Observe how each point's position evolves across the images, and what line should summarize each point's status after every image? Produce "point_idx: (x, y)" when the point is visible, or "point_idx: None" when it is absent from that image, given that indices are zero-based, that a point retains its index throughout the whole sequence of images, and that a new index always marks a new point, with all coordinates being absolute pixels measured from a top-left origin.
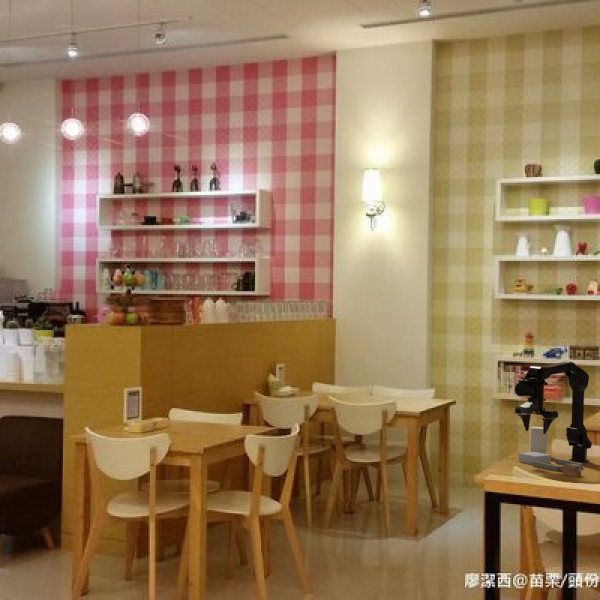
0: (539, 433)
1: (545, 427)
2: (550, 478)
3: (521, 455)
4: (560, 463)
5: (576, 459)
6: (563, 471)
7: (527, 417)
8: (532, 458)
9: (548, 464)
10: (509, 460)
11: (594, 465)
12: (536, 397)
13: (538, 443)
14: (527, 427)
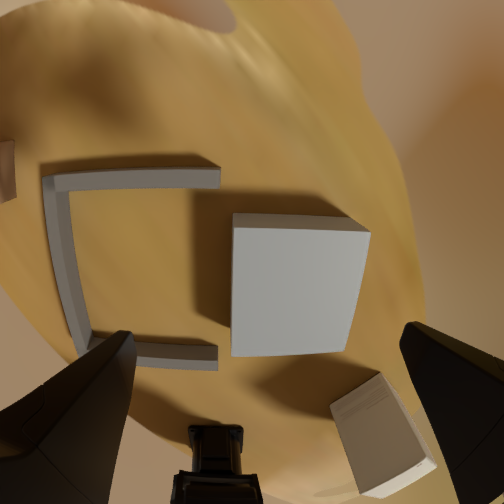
0: (384, 462)
1: (54, 382)
2: (5, 25)
3: (348, 228)
4: (187, 348)
5: (204, 430)
6: (4, 141)
7: (490, 460)
8: (260, 223)
9: (100, 175)
10: (393, 204)
11: (132, 418)
12: None
13: (371, 427)
14: (421, 363)
